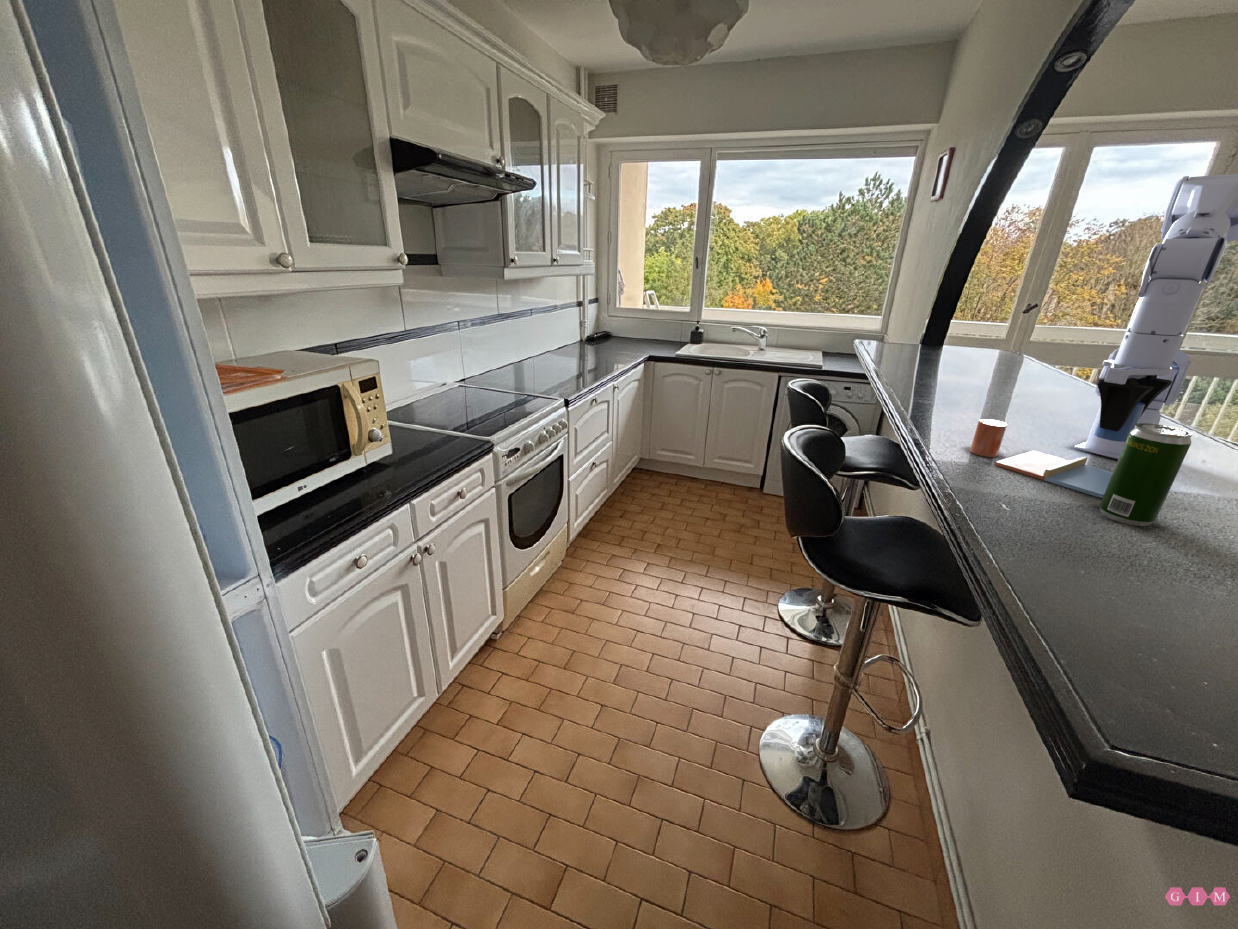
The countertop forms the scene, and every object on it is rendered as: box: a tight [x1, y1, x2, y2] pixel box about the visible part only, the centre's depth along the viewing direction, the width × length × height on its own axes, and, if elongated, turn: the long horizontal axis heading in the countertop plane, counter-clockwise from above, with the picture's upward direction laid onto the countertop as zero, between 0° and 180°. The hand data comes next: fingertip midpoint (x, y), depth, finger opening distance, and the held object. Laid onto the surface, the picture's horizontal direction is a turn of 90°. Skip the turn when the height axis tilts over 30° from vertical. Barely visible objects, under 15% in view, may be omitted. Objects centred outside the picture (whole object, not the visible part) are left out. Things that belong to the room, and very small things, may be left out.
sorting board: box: [993, 450, 1114, 499], centre depth 79 cm, size 12×14×2 cm
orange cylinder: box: [969, 418, 1008, 458], centre depth 86 cm, size 4×4×6 cm
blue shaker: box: [1094, 402, 1145, 442], centre depth 74 cm, size 4×4×6 cm
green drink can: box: [1099, 423, 1193, 527], centre depth 63 cm, size 5×5×12 cm
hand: (1116, 427), depth 75 cm, fingers closed on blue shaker, 4 cm apart
